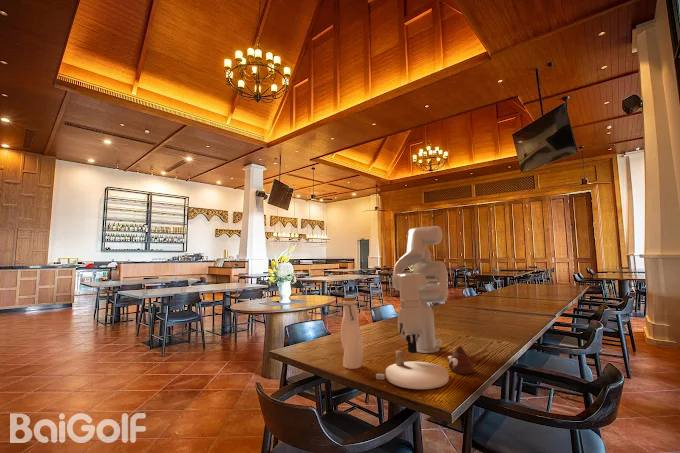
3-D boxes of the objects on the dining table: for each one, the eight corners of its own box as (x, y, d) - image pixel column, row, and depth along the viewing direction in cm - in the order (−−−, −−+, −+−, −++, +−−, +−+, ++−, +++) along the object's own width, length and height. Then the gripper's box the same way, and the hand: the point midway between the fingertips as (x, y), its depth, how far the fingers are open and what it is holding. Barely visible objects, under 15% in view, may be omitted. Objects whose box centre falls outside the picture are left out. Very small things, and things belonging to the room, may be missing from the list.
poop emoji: (478, 374, 116) (476, 348, 117) (457, 376, 115) (455, 350, 116) (464, 365, 126) (462, 341, 127) (444, 367, 125) (442, 343, 126)
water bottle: (368, 368, 127) (364, 297, 130) (346, 371, 124) (343, 299, 127) (359, 361, 137) (356, 295, 140) (339, 364, 134) (336, 296, 137)
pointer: (384, 378, 116) (384, 373, 116) (384, 379, 115) (384, 375, 115) (376, 378, 116) (376, 373, 117) (376, 379, 115) (376, 375, 115)
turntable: (462, 378, 110) (460, 358, 111) (417, 395, 99) (415, 371, 99) (416, 363, 129) (415, 345, 130) (373, 375, 117) (372, 355, 118)
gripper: (416, 302, 134) (419, 347, 132) (389, 305, 126) (391, 353, 124) (430, 304, 128) (433, 351, 125) (402, 307, 120) (405, 357, 117)
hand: (412, 352), depth 125 cm, fingers closed
